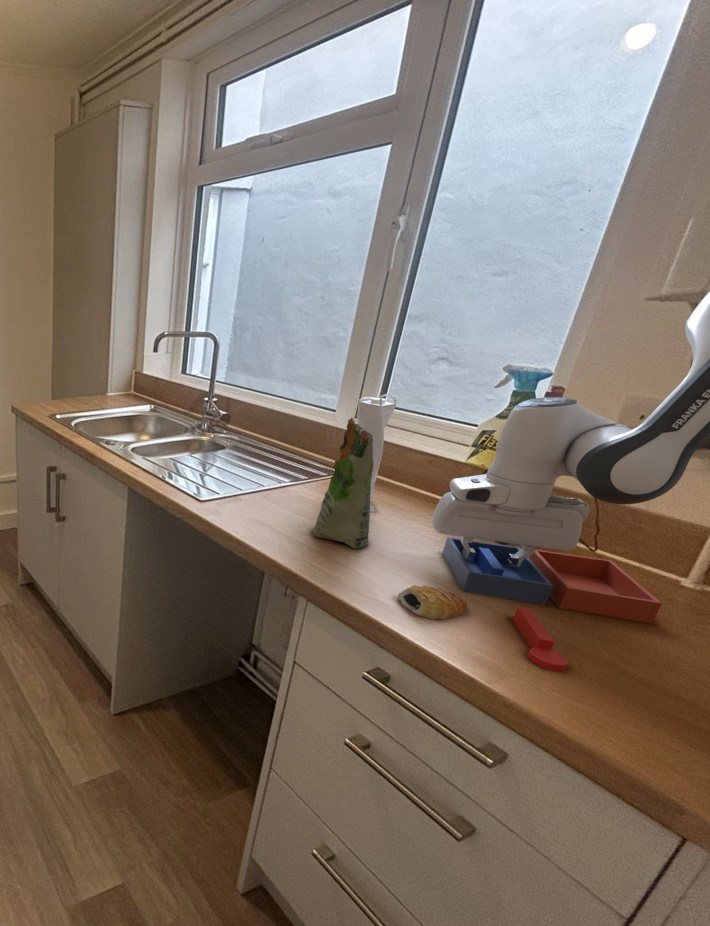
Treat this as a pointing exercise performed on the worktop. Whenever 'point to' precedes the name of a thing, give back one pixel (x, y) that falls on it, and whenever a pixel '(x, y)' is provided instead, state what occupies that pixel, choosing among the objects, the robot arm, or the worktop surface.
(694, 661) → the worktop surface
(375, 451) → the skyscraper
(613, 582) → the red bin
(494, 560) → the blue spoon
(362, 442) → the pouch
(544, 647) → the red spoon
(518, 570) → the blue bin
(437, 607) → the pastry
